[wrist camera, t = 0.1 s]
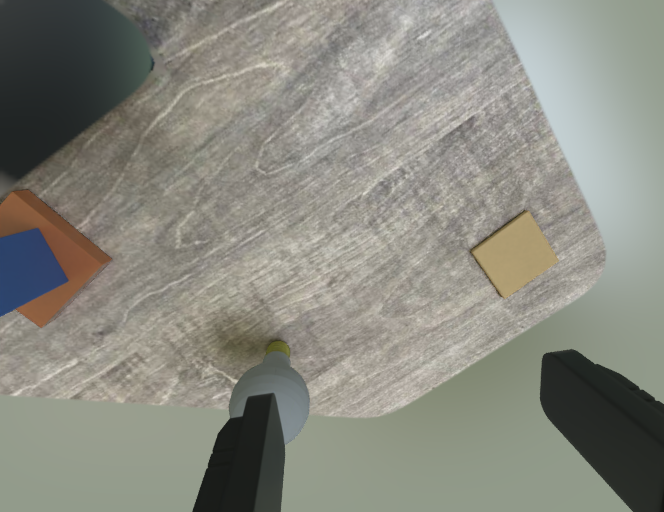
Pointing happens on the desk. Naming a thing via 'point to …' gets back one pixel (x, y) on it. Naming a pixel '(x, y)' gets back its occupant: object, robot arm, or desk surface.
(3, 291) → the block
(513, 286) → the mat
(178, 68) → the desk surface
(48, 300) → the orange-brown square slab
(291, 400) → the light bulb
